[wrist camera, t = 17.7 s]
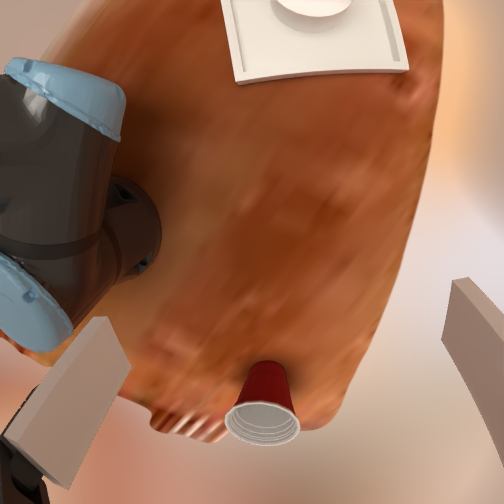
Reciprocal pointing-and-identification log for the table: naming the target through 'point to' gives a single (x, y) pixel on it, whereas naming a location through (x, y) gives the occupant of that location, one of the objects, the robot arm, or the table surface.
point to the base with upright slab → (310, 13)
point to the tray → (313, 42)
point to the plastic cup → (264, 408)
